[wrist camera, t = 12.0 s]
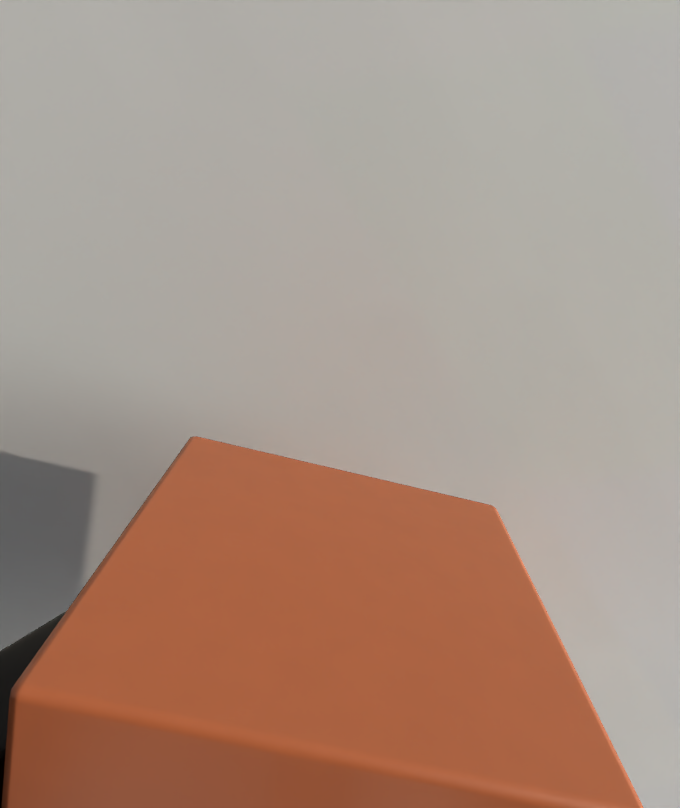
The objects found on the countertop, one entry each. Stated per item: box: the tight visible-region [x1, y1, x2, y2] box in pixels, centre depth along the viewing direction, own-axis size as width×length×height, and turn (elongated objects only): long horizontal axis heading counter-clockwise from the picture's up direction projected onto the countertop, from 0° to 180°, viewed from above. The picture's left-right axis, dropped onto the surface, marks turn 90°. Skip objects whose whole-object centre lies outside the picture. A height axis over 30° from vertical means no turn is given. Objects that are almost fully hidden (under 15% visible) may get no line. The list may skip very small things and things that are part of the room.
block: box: [1, 436, 643, 808], centre depth 6 cm, size 4×4×4 cm
